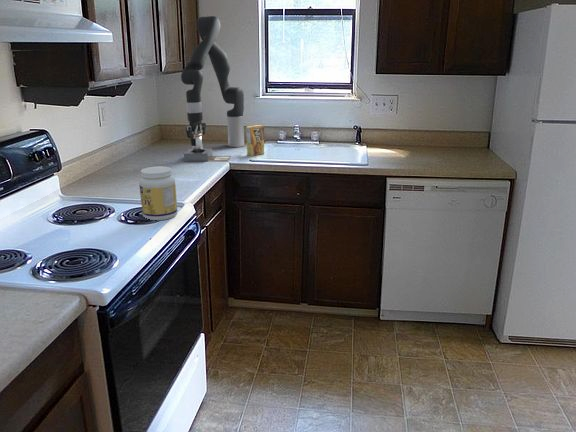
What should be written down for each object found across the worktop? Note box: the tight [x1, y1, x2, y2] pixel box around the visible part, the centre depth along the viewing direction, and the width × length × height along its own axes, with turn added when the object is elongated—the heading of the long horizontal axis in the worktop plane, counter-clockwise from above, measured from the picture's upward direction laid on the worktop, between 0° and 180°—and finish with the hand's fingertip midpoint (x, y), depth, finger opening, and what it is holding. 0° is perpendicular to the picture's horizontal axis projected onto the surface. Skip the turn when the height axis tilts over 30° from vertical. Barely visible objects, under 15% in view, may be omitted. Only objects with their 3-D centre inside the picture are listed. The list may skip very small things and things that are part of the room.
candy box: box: [245, 124, 265, 157], centre depth 277 cm, size 9×4×15 cm, turn 129°
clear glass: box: [192, 133, 204, 152], centre depth 265 cm, size 5×5×11 cm
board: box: [183, 155, 232, 163], centre depth 267 cm, size 13×22×1 cm, turn 87°
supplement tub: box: [138, 165, 179, 221], centre depth 182 cm, size 12×12×17 cm
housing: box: [183, 148, 213, 161], centre depth 267 cm, size 12×12×4 cm
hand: (197, 144), depth 265 cm, fingers closed on clear glass, 5 cm apart
